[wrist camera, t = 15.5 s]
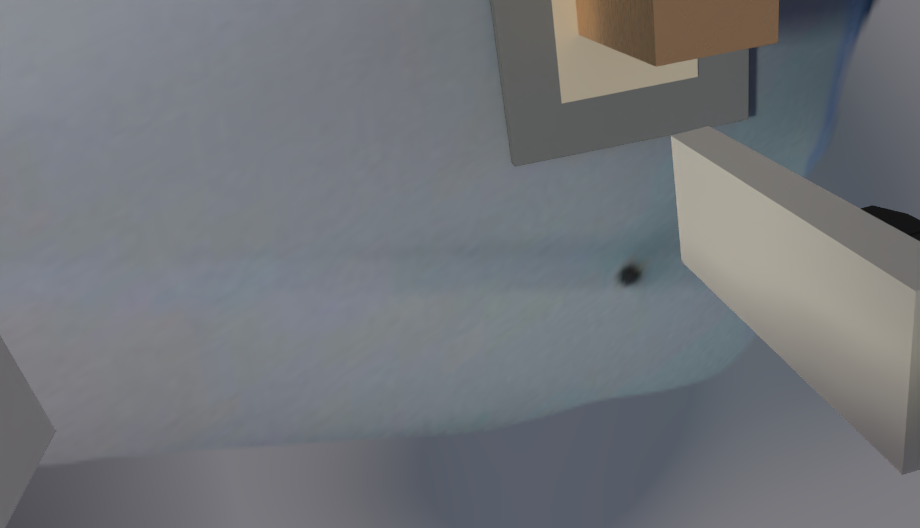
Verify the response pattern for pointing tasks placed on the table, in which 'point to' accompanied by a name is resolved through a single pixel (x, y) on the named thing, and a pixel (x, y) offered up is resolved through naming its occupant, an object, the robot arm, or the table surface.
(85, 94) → the table surface
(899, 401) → the robot arm
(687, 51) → the wooden l-shaped block
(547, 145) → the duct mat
